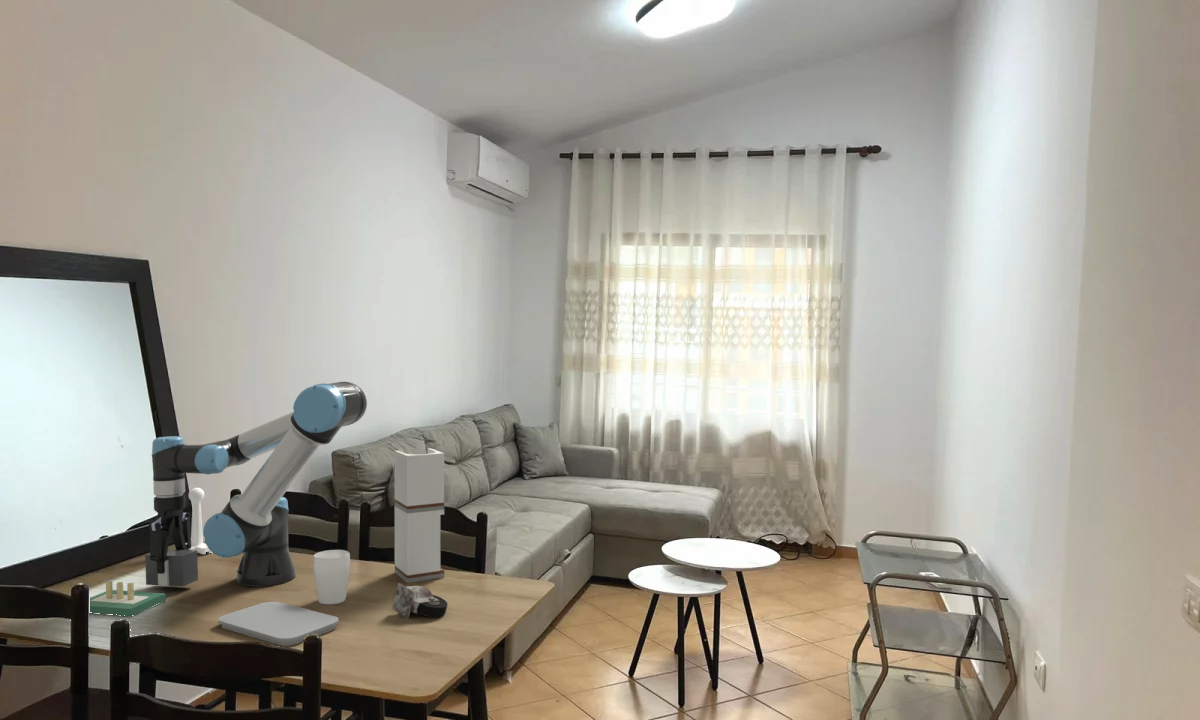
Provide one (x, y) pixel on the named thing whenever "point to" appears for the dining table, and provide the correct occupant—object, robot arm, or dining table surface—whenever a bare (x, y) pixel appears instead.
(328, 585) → the cup
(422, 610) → the caster wheel
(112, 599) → the board
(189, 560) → the block
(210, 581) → the dining table surface
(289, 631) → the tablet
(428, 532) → the white striped vase
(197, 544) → the joystick
